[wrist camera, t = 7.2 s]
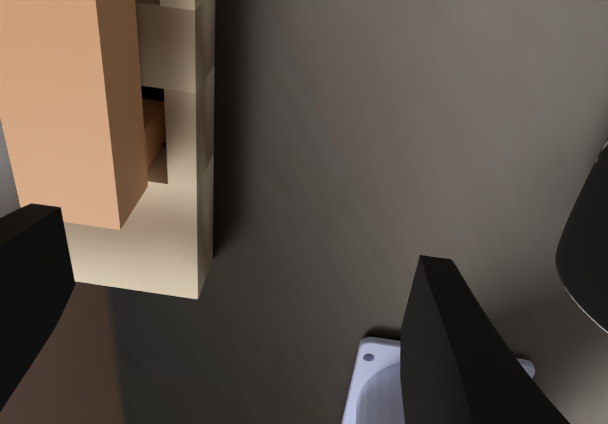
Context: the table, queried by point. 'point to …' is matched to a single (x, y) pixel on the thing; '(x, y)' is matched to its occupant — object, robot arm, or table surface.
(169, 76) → the rail
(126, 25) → the clip
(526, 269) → the table surface
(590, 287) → the black cylindrical speaker
